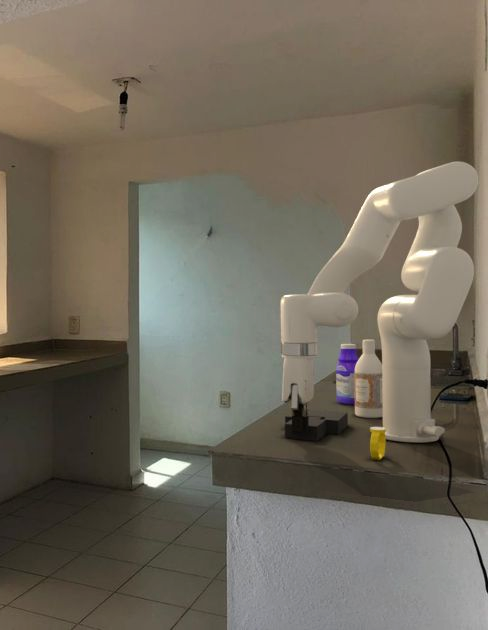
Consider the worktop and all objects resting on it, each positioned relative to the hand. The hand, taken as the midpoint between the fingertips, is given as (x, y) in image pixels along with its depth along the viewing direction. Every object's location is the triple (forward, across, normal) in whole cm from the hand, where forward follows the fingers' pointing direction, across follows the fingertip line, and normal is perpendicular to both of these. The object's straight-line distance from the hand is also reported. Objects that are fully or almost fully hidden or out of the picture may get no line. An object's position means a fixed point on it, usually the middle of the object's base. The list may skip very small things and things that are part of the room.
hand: (300, 433), depth 143 cm
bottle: (+2, -57, +1) cm, 57 cm away
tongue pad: (+2, -7, 0) cm, 8 cm away
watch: (+2, +9, +17) cm, 19 cm away
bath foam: (+2, -38, +9) cm, 39 cm away
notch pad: (+2, -17, 0) cm, 17 cm away
